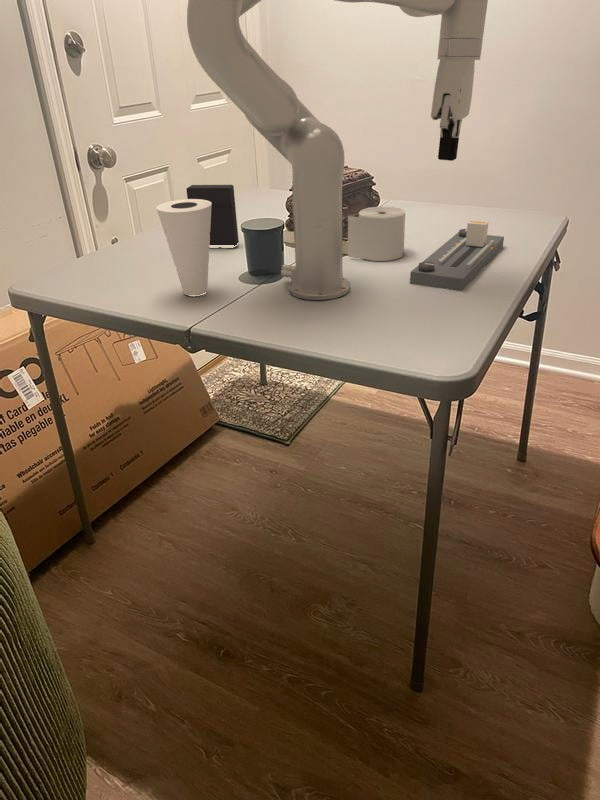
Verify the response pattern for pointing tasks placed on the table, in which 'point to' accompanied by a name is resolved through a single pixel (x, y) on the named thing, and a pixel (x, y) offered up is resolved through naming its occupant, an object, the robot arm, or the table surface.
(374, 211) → the toilet tissue
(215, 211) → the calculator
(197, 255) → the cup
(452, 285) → the console
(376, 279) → the table surface
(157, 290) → the table surface
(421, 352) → the table surface
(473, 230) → the fader
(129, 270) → the table surface
